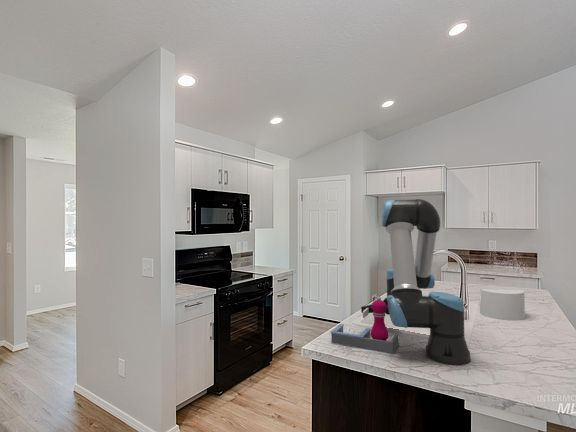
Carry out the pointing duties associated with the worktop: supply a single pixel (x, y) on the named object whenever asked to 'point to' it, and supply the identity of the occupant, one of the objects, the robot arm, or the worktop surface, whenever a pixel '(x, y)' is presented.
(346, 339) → the divider rack
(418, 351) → the worktop surface
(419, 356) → the worktop surface
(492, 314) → the container
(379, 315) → the pepper mill
